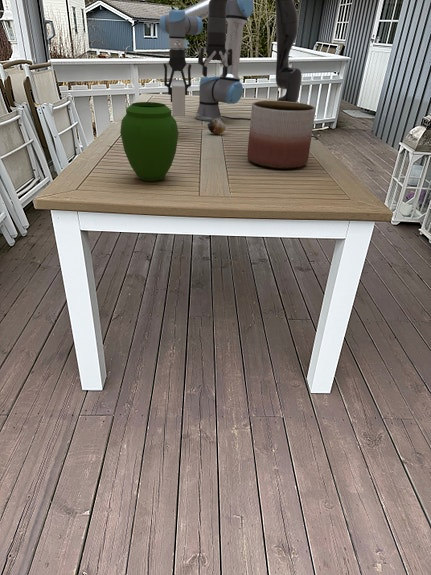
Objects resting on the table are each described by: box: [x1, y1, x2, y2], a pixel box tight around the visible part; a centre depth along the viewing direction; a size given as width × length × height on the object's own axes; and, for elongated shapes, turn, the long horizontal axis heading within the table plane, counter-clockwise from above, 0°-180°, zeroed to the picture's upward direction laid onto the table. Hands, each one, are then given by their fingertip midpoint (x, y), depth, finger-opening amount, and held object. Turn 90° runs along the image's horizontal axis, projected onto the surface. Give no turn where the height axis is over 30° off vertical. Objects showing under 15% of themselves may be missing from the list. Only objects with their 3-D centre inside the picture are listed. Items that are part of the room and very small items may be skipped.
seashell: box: [207, 118, 227, 135], centre depth 211 cm, size 10×6×8 cm, turn 97°
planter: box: [246, 100, 317, 170], centre depth 167 cm, size 25×25×22 cm
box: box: [171, 79, 186, 117], centre depth 198 cm, size 24×6×13 cm, turn 6°
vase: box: [119, 101, 179, 182], centre depth 140 cm, size 20×20×24 cm
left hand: (177, 101), depth 206 cm, fingers closed on box, 6 cm apart
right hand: (214, 76), depth 171 cm, fingers open, 8 cm apart
